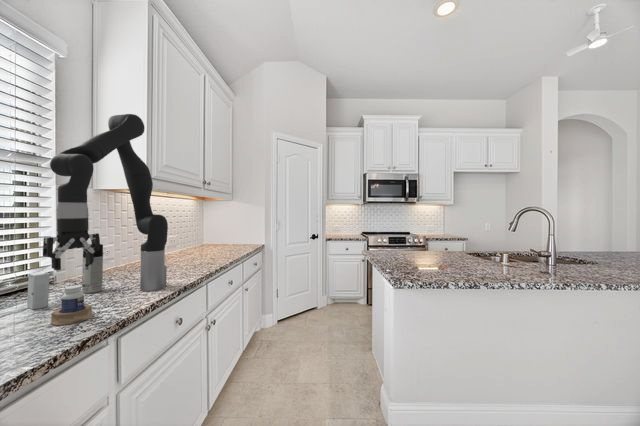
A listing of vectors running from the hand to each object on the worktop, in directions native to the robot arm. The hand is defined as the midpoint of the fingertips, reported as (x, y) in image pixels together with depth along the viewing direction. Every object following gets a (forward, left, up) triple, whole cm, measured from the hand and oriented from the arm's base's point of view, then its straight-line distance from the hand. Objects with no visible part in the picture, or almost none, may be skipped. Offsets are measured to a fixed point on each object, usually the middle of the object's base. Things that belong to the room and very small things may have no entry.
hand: (73, 267), depth 88 cm
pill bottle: (0, 0, -16) cm, 16 cm away
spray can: (-21, -27, -17) cm, 38 cm away
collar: (0, 0, -17) cm, 17 cm away
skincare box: (-2, -24, -17) cm, 30 cm away
